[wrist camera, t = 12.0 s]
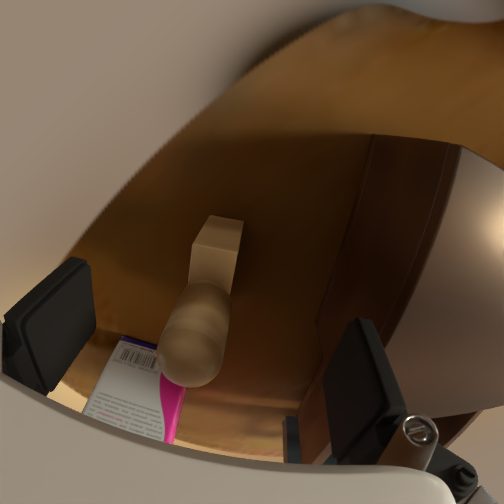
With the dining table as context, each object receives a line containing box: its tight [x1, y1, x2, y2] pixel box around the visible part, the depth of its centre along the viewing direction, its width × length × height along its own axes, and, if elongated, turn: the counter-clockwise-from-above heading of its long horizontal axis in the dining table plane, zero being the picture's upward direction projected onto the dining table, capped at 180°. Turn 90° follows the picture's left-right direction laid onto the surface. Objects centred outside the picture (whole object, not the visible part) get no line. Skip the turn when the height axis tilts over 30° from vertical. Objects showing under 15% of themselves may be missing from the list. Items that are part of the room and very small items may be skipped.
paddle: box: [156, 215, 244, 388], centre depth 13 cm, size 5×2×10 cm, turn 169°
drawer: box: [282, 358, 483, 465], centre depth 19 cm, size 15×13×7 cm
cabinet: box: [315, 134, 504, 418], centre depth 13 cm, size 12×14×8 cm
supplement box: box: [82, 336, 186, 444], centre depth 17 cm, size 6×6×12 cm
